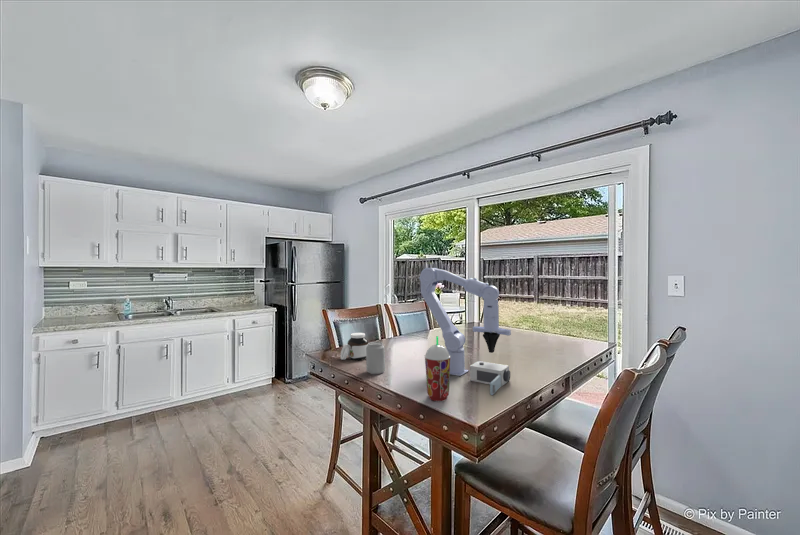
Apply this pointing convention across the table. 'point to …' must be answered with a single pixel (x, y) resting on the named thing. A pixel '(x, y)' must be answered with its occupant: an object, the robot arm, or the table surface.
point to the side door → (495, 384)
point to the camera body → (489, 372)
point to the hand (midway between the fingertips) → (491, 352)
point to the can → (375, 358)
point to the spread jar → (355, 347)
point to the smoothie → (437, 372)
